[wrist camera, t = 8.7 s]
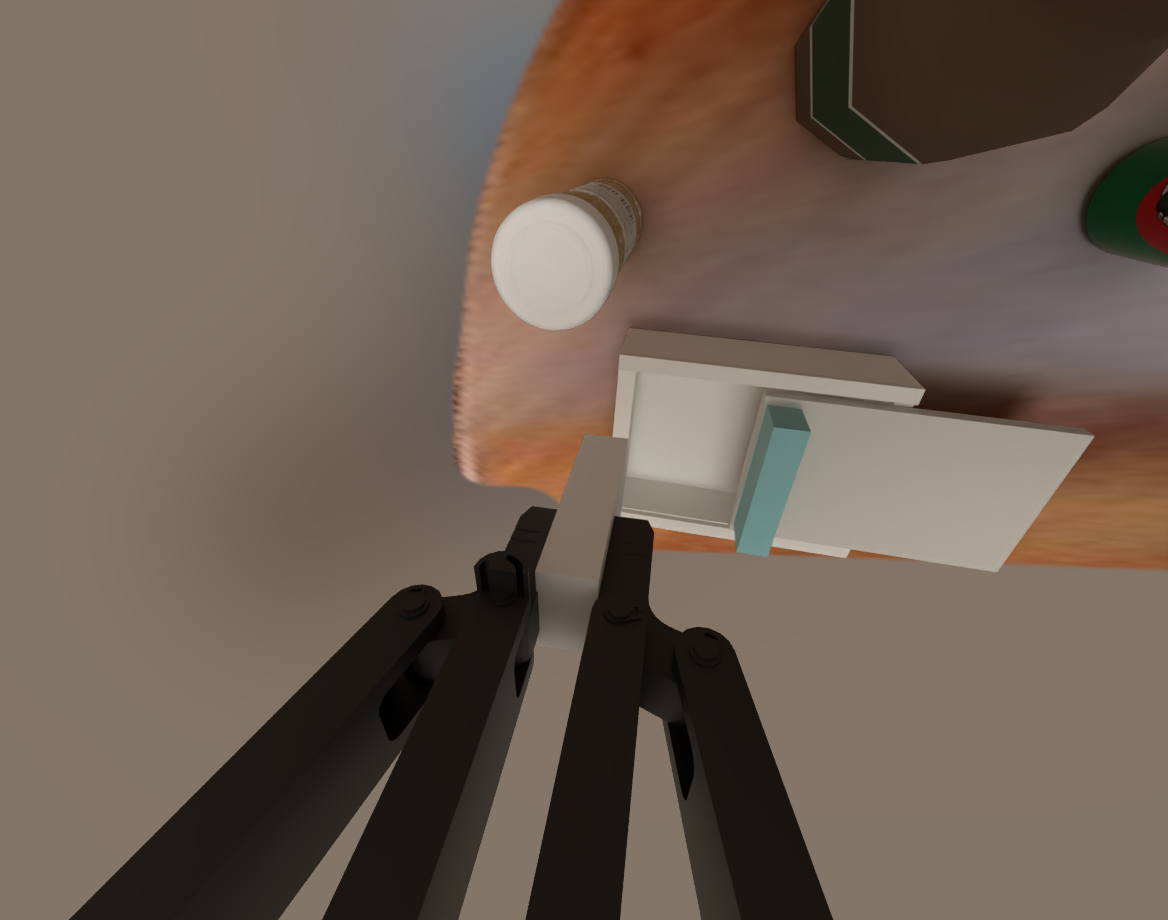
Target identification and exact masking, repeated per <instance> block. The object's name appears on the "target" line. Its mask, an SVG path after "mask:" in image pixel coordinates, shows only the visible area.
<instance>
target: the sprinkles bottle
mask: <svg viewBox="0 0 1168 920" xmlns="http://www.w3.org/2000/svg"><path fill="white" fill-rule="evenodd" d="M642 223H643V221H642V212H641V207H640V205H639V203H638V201H637V198H636V197H635V196H634V194H633V193H632V191H631V190H630V189H629V188H628V187H626V186H625V185H623V184H622V183H620V182H618V181H616V180H610V179H607V178H601V179H595V180H591V181H589V182H587V183H586V184H584V185H582V186H579V187H576V188H573V189H571V190H569V191H567V192H564V193H561V194H559V193H554V194H547V195H543V196H540V197H537V198H534V199H532V200H530V201H528V202H525V203H523V204H521V205H520V206H518V207H517V208H516V209H514V210H513V211H512V212H511V213H510V214H509V215H508V216H507V217H506V218H505V219H504V221H503V222H502V223H501V225H500V227H499V229H498V231H497V233H496V235H495V238H494V242H493V246H492V253H491V267H492V274H493V278H494V282H495V284H496V288H497V290H498V292H499V294H500V295H501V297H502V299H503V301H504V302H505V303H506V305H507V306H508V307H509V308H510V309H511V310H512V311H513V313H514V314H516V315H517V316H518V317H519V318H521V319H522V320H524V321H525V322H527V323H529V324H531V325H533V326H536V327H538V328H542V329H546V330H567V329H571V328H574V327H577V326H579V325H581V324H583V323H585V322H586V321H588V320H589V319H591V318H592V317H593V316H594V315H595V314H596V313H597V312H598V311H599V310H600V308H601V307H602V306H603V304H604V303H605V301H606V300H607V298H608V296H609V295H610V293H611V291H612V289H613V287H614V284H615V282H616V278H617V275H618V273H619V271H620V270H621V268H622V266H623V265H624V263H625V262H626V260H627V258H628V256H629V255H630V253H631V251H632V250H633V249H634V248H635V246H636V245H637V243H638V241H639V238H640V234H641V231H642Z"/></svg>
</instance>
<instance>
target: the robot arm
mask: <svg viewBox="0 0 1168 920" xmlns="http://www.w3.org/2000/svg"><path fill="white" fill-rule="evenodd" d="M627 446H628V438H618V437H609V436H599V435H590V434H585V435H584V437H583V440H582V443H581V446H580V448H579V451H578V454H577V457H576V460H575V462H574V465H573V468H572V471H571V473H570V476H569V479H568V482H567V484H566V487H565V490H564V493H563V496H562V498H561V501H560V504H559V507H558V509H557V510H556V509H548V508H541V507H534V506H532V507H531V508H529V509H528V510H527V511H526V512H525V513H524V514H522V515H521V516H520V518H519V521H518V523H517V525H516V528H515V531H514V532H513V534H512V536H511V540H510V541H509V543H508V545H507V547H506V549H505V551H497V552H494V553H490V554H488V555H486V556H484V557H483V558H481V559H480V560H479V561H478V562H477V563H476V565H475V566H474V570H475V577H476V584H477V591H475V592H472V593H470V594H465V595H458V596H450V597H442V596H441V594H440V592H439V591H438V590H437V589H435V588H434V587H432V586H428V585H414V586H410V587H408V588H405V589H403V590H401V591H399V592H398V593H397V594H395V595H394V596H393V597H391V598H390V600H388V601H387V603H385V604H384V605H383V606H382V607H381V608H380V609H379V610H378V611H377V613H375V615H373V616H372V617H371V618H370V619H369V621H368V622H366V624H364V625H363V626H362V628H360V629H359V630H358V631H357V632H356V633H355V634H354V636H352V637H351V638H350V640H349V641H347V643H345V644H344V646H343V647H341V649H339V650H338V651H337V652H336V653H335V654H334V655H333V656H332V657H331V658H330V660H328V661H327V662H326V663H325V664H324V665H323V666H322V667H321V668H320V669H319V670H318V672H317V673H315V674H314V675H313V676H312V677H311V678H310V679H309V680H308V682H307V683H305V684H304V685H303V686H302V687H301V688H300V689H299V690H298V691H297V692H296V693H295V694H294V695H293V696H292V697H291V698H290V699H289V700H288V701H287V702H286V703H285V704H284V705H283V706H282V708H280V709H279V710H278V711H277V712H276V713H275V714H274V715H273V717H271V718H270V720H268V721H267V722H266V723H265V724H264V725H263V726H262V727H261V729H259V730H258V731H257V732H256V733H255V734H254V735H253V736H252V737H251V738H250V739H249V740H248V741H247V742H246V744H244V745H243V746H242V747H241V748H240V749H239V750H238V751H237V752H236V754H235V755H234V756H232V757H231V758H230V759H229V760H228V762H226V763H225V764H224V765H223V766H222V768H220V769H219V770H218V771H217V772H216V773H215V774H214V775H213V776H212V777H211V778H210V779H209V780H208V781H207V782H206V783H205V784H204V785H203V786H202V787H201V788H200V789H199V790H198V791H197V792H196V793H195V794H194V795H193V796H192V797H191V798H190V799H189V800H188V801H187V802H186V803H185V804H184V805H183V806H182V807H181V808H180V809H179V811H177V813H175V814H174V815H173V816H172V817H171V818H170V819H169V820H168V821H167V822H166V823H165V824H164V825H163V826H162V827H161V828H160V830H158V831H157V832H156V833H155V834H154V835H153V836H152V837H151V838H150V840H148V841H147V842H146V843H145V844H144V845H143V846H142V847H141V848H140V849H139V850H138V851H137V852H136V853H135V854H134V855H133V856H132V857H131V858H130V859H129V860H128V861H127V862H126V863H125V864H124V865H123V867H121V868H120V869H119V870H118V871H117V872H116V873H115V874H114V875H113V876H112V877H111V878H110V879H109V880H108V881H107V882H106V883H105V884H104V885H103V886H102V887H101V888H100V889H99V890H98V891H97V892H96V893H95V894H94V895H93V896H92V898H90V899H89V900H88V901H87V902H86V904H84V905H83V906H82V907H81V908H80V909H79V910H78V911H77V912H76V913H75V915H73V916H72V917H71V918H70V919H69V920H278V919H279V918H280V916H281V915H282V914H283V912H284V911H285V909H286V908H287V907H288V905H289V904H290V903H291V901H292V900H293V898H294V897H295V896H296V894H297V893H298V892H299V890H300V889H301V887H302V886H303V885H304V883H305V882H306V881H307V879H308V878H309V877H310V875H311V874H312V872H313V871H314V870H315V868H316V867H317V866H318V864H319V863H320V861H321V860H322V859H323V857H324V856H325V855H326V853H327V852H328V850H329V849H330V847H331V846H332V845H333V843H334V842H335V841H336V839H337V838H338V837H339V835H340V834H341V833H342V831H343V830H344V828H345V827H346V826H347V824H348V823H349V822H350V820H351V819H352V818H353V816H354V815H355V813H356V812H357V811H358V809H359V808H360V806H361V805H362V804H363V802H364V801H365V800H366V798H367V797H368V795H369V794H370V793H371V791H372V790H373V789H374V787H375V786H376V785H377V783H378V782H379V780H380V779H381V778H382V776H383V775H384V774H385V772H386V771H387V769H388V768H389V767H390V765H391V764H392V763H393V761H394V760H395V758H396V757H397V756H398V754H399V753H400V751H401V750H402V752H401V754H400V756H399V758H398V760H397V762H396V764H395V766H394V769H393V771H392V773H391V775H390V777H389V779H388V781H387V783H386V785H385V788H384V790H383V792H382V794H381V796H380V798H379V801H378V803H377V805H376V807H375V809H374V811H373V813H372V815H371V817H370V819H369V821H368V824H367V826H366V828H365V830H364V833H363V834H362V836H361V838H360V841H359V843H358V845H357V847H356V849H355V852H354V853H353V855H352V858H351V860H350V862H349V864H348V866H347V868H346V870H345V872H344V875H343V877H342V879H341V881H340V883H339V885H338V887H337V889H336V892H335V894H334V896H333V898H332V900H331V902H330V904H329V906H328V909H327V911H326V913H325V915H324V917H323V919H322V920H458V918H459V915H460V911H461V908H462V905H463V901H464V898H465V894H466V891H467V888H468V884H469V881H470V877H471V874H472V871H473V867H474V864H475V860H476V857H477V854H478V850H479V847H480V844H481V840H482V837H483V834H484V830H485V827H486V823H487V820H488V817H489V813H490V810H491V807H492V803H493V800H494V796H495V793H496V790H497V786H498V783H499V779H500V776H501V773H502V769H503V766H504V763H505V759H506V756H507V753H508V749H509V746H510V742H511V739H512V735H513V732H514V729H515V725H516V722H517V719H518V715H519V712H520V708H521V705H522V702H523V698H524V695H525V691H526V688H527V685H528V681H529V678H530V675H531V671H532V668H533V663H534V646H535V644H536V640H537V637H538V639H539V646H544V647H551V648H556V649H562V650H568V651H574V652H580V653H582V656H581V662H580V666H579V671H578V675H577V680H576V685H575V689H574V695H573V699H572V704H571V708H570V713H569V718H568V722H567V727H566V732H565V736H564V742H563V746H562V751H561V756H560V760H559V765H558V769H557V774H556V779H555V783H554V788H553V793H552V797H551V802H550V807H549V812H548V816H547V821H546V826H545V830H544V835H543V840H542V845H541V849H540V854H539V859H538V863H537V868H536V873H535V877H534V882H533V887H532V891H531V896H530V901H529V906H528V910H527V915H526V920H620V913H621V902H622V891H623V880H624V869H625V858H626V846H627V836H628V825H629V813H630V802H631V791H632V780H633V768H634V758H635V747H636V736H637V725H638V714H639V707H641V708H643V709H645V710H647V711H649V712H651V713H652V714H654V715H656V716H658V717H660V718H661V719H662V720H663V726H664V731H665V735H666V741H667V746H668V751H669V755H670V761H671V766H672V772H673V777H674V782H675V786H676V792H677V797H678V802H679V807H680V812H681V817H682V823H683V827H684V833H685V838H686V843H687V848H688V853H689V858H690V864H691V869H692V874H693V879H694V884H695V889H696V894H697V899H698V904H699V909H700V915H701V920H833V918H832V916H831V913H830V910H829V907H828V904H827V902H826V899H825V896H824V894H823V891H822V888H821V885H820V883H819V880H818V877H817V875H816V872H815V869H814V866H813V864H812V861H811V858H810V855H809V853H808V850H807V847H806V845H805V842H804V839H803V836H802V834H801V831H800V828H799V825H798V822H797V820H796V817H795V814H794V812H793V809H792V806H791V803H790V801H789V798H788V795H787V792H786V789H785V787H784V784H783V781H782V779H781V776H780V773H779V770H778V768H777V765H776V762H775V759H774V757H773V754H772V751H771V749H770V746H769V743H768V740H767V738H766V735H765V732H764V729H763V727H762V724H761V722H760V718H759V716H758V713H757V711H756V707H755V705H754V702H753V699H752V696H751V694H750V691H749V688H748V686H747V683H746V680H745V677H744V675H743V672H742V669H741V666H740V664H739V661H738V658H737V655H736V653H735V650H734V649H733V647H732V645H731V644H730V642H729V641H728V640H727V639H726V638H725V637H724V636H723V635H721V634H720V633H718V632H716V631H714V630H712V629H709V628H702V627H695V628H690V629H687V630H685V631H684V632H683V633H682V632H680V631H678V630H675V629H673V628H671V627H669V626H667V625H666V624H664V623H662V622H661V621H660V620H659V619H658V618H657V617H656V616H655V615H654V614H653V612H652V611H651V608H650V606H649V600H648V595H649V584H650V573H651V562H652V551H653V539H654V531H653V529H652V527H651V525H650V523H649V521H648V520H643V519H635V518H627V517H620V516H621V510H622V505H623V496H624V484H625V471H626V458H627Z"/></svg>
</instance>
